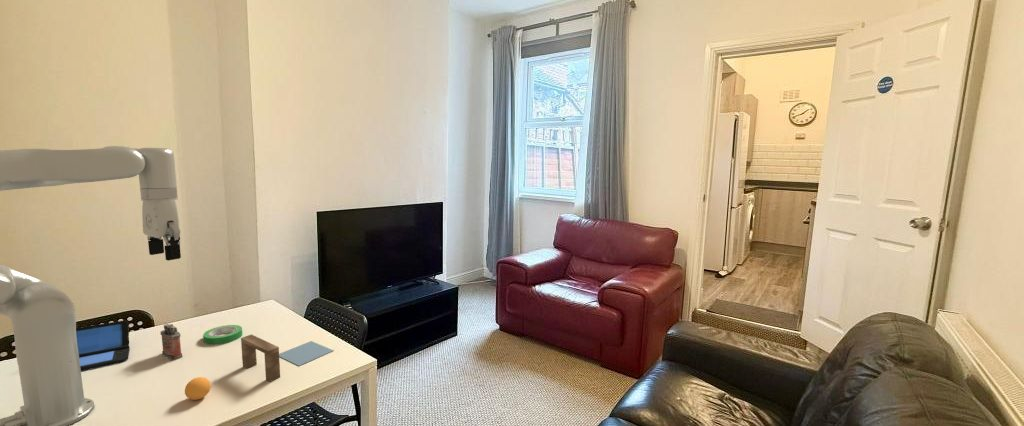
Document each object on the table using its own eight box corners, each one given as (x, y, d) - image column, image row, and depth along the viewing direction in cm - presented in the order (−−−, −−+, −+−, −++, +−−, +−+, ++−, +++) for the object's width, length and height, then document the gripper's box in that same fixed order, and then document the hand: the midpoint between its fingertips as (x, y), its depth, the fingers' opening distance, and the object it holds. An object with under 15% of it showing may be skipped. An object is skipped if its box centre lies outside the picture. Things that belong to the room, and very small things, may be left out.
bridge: (269, 381, 119) (268, 351, 117) (242, 366, 126) (240, 337, 125) (280, 376, 121) (278, 347, 120) (253, 362, 128) (251, 334, 127)
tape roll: (207, 334, 147) (207, 327, 147) (244, 329, 152) (244, 322, 151) (200, 347, 137) (199, 340, 137) (239, 342, 142) (239, 335, 141)
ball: (191, 406, 106) (189, 386, 105) (181, 399, 109) (179, 380, 108) (215, 396, 111) (214, 377, 110) (205, 389, 114) (204, 370, 113)
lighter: (159, 354, 132) (156, 324, 130) (172, 350, 135) (169, 320, 133) (172, 361, 128) (169, 330, 126) (185, 356, 131) (182, 326, 129)
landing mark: (298, 366, 127) (298, 365, 127) (276, 355, 133) (276, 354, 133) (333, 351, 137) (333, 350, 137) (311, 341, 143) (311, 340, 143)
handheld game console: (52, 378, 117) (48, 347, 116) (61, 359, 127) (58, 330, 126) (128, 362, 127) (125, 333, 126) (131, 345, 137) (128, 318, 136)
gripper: (127, 192, 113) (134, 254, 115) (156, 198, 104) (162, 264, 107) (161, 191, 119) (166, 249, 122) (191, 195, 111) (196, 258, 113)
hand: (165, 256), depth 114 cm, fingers open, 9 cm apart
